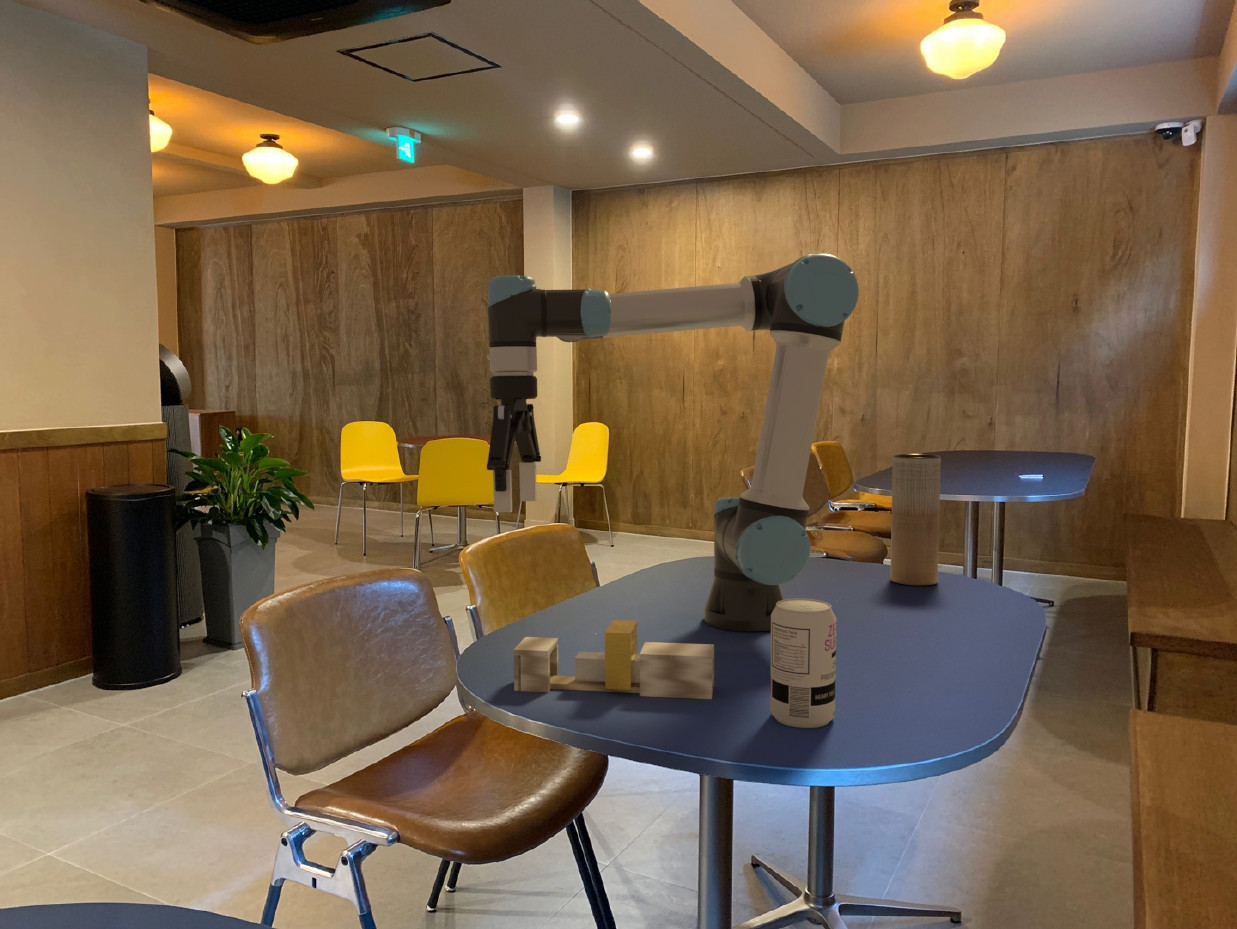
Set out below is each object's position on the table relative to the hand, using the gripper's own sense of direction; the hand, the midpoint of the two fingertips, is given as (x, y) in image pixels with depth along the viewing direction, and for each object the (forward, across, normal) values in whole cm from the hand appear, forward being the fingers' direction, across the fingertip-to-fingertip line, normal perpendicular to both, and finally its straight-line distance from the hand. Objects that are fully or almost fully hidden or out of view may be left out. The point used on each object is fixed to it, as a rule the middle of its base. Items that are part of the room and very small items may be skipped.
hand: (516, 506), depth 146 cm
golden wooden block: (+23, +15, +23) cm, 36 cm away
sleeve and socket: (+24, +15, +19) cm, 34 cm away
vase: (+25, -65, +70) cm, 99 cm away
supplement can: (+24, +23, +45) cm, 56 cm away
